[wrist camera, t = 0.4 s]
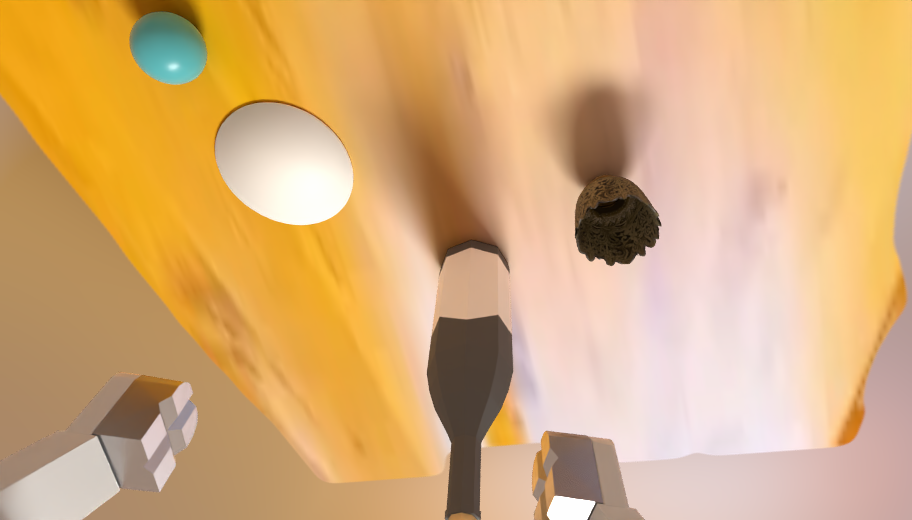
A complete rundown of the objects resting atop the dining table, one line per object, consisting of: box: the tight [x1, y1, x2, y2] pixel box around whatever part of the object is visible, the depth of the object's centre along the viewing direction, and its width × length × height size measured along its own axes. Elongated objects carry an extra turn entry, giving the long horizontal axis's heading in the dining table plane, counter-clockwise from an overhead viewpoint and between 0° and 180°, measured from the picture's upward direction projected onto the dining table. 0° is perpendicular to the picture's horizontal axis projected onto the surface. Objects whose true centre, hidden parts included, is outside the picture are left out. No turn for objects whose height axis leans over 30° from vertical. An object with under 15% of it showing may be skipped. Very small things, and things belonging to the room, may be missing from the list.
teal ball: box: [130, 11, 207, 84], centre depth 42 cm, size 6×6×6 cm
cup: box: [575, 175, 661, 266], centre depth 48 cm, size 8×7×8 cm
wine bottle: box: [427, 240, 513, 520], centre depth 47 cm, size 8×8×30 cm
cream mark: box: [215, 102, 353, 225], centre depth 52 cm, size 14×14×1 cm
